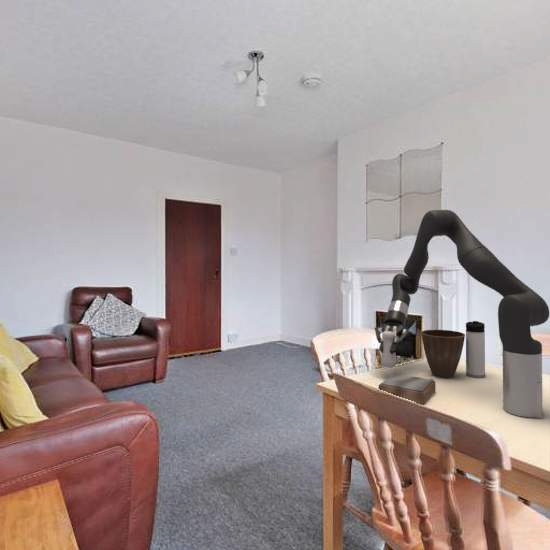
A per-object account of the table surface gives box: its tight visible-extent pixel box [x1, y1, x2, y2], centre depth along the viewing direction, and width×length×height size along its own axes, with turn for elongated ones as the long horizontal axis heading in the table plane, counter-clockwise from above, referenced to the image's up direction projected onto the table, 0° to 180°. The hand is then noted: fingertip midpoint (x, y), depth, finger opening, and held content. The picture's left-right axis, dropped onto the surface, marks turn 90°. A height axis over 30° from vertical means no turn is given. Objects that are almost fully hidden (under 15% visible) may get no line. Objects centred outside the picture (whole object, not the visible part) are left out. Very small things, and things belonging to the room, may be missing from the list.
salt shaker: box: [380, 331, 398, 369], centre depth 137 cm, size 6×6×13 cm
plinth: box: [378, 372, 437, 406], centre depth 120 cm, size 14×14×4 cm
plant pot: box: [420, 329, 466, 379], centre depth 138 cm, size 15×15×16 cm
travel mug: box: [465, 320, 486, 379], centre depth 137 cm, size 6×7×20 cm
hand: (386, 352), depth 135 cm, fingers closed on salt shaker, 3 cm apart
